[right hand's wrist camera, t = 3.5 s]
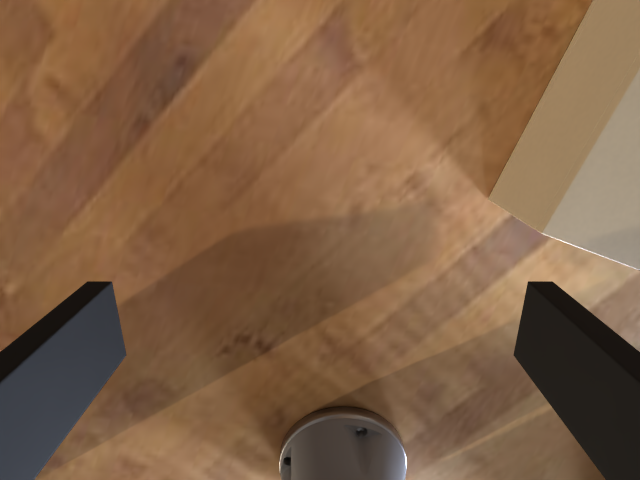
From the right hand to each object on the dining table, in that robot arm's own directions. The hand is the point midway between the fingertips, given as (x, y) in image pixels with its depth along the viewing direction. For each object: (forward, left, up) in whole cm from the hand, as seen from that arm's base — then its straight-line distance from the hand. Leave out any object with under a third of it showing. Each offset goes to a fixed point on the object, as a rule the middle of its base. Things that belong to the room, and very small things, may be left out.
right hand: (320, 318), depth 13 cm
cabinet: (-8, -24, -26) cm, 36 cm away
